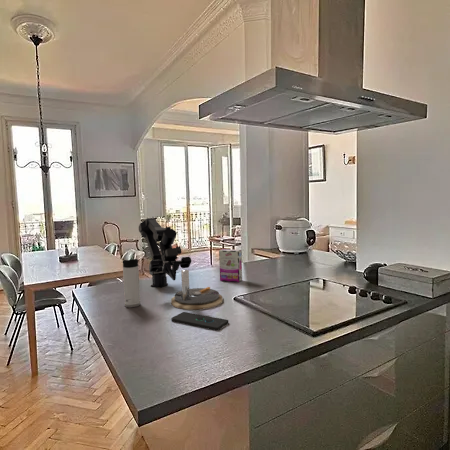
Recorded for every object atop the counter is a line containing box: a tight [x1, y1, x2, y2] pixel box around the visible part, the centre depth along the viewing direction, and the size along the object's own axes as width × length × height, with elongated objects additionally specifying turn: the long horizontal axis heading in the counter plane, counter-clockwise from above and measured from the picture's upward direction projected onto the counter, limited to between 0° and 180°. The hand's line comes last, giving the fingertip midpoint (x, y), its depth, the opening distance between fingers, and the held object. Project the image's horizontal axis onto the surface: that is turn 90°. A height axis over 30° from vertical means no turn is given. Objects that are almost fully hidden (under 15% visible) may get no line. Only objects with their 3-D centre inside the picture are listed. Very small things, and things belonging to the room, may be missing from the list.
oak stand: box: [170, 293, 223, 311], centre depth 150 cm, size 22×22×1 cm
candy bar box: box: [218, 248, 243, 283], centre depth 183 cm, size 11×5×16 cm, turn 68°
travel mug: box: [122, 258, 141, 308], centre depth 146 cm, size 6×7×20 cm
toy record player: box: [174, 269, 220, 305], centre depth 150 cm, size 20×19×14 cm
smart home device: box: [170, 311, 229, 331], centre depth 126 cm, size 8×2×20 cm
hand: (174, 279), depth 154 cm, fingers closed
